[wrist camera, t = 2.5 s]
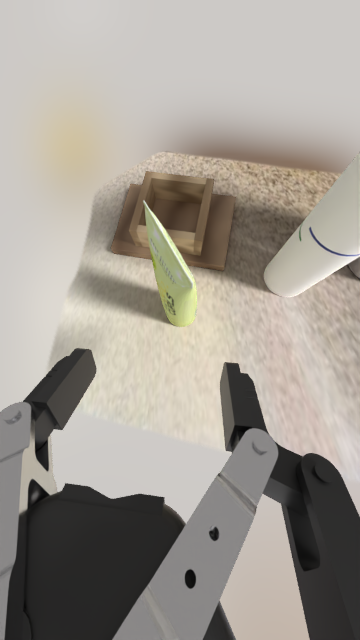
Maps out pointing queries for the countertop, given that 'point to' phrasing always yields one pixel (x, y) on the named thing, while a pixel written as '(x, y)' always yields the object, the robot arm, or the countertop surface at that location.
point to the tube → (171, 274)
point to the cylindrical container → (320, 239)
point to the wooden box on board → (177, 219)
